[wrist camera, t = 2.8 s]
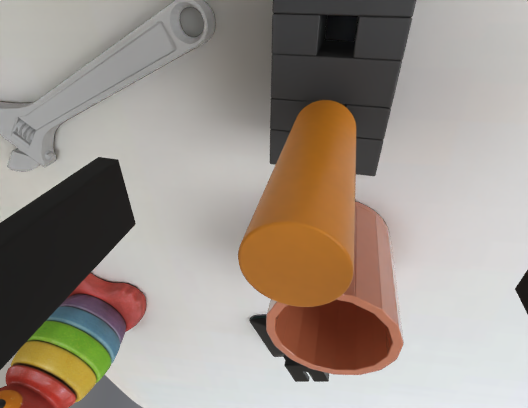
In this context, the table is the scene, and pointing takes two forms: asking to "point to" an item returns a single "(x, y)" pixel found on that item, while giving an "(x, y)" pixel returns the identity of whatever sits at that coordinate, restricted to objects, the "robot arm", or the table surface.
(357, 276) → the pen cup
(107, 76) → the adjustable wrench
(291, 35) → the holder
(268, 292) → the orange round dowel
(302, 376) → the build plate
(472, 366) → the table surface
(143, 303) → the stacking bear
